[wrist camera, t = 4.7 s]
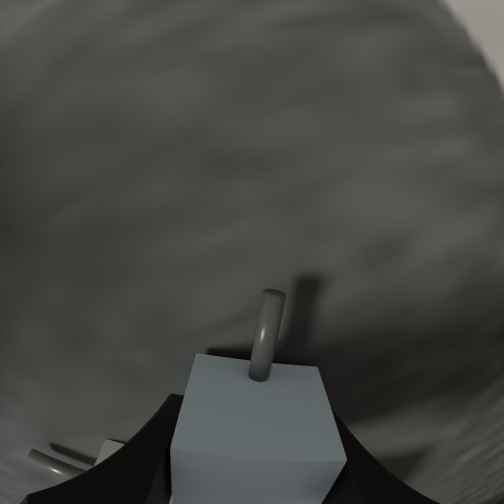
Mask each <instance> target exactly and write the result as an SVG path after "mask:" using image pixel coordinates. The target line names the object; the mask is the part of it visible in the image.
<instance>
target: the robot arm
mask: <svg viewBox="0 0 504 504" xmlns="http://www.w3.org/2000/svg"><path fill="white" fill-rule="evenodd" d="M183 399H184V396H183V395H177V394H171V395H169V396H168V398H167V399H166V400H165V402H164V403H163V405H162V406H161V407H160V408H159V410H158V411H157V412H156V413H155V414H154V416H153V417H152V418H151V419H150V420H149V421H148V422H147V423H146V424H145V425H144V426H143V427H142V429H141V430H140V431H139V432H138V433H136V434H135V435H134V436H133V437H132V438H131V439H130V440H129V441H128V442H127V443H126V444H124V445H123V446H122V447H121V448H120V449H118V450H117V451H116V452H115V453H113V454H112V455H111V456H109V457H108V458H106V459H105V460H103V461H102V462H100V463H99V464H97V465H96V466H94V467H92V468H91V469H89V470H87V471H86V472H84V473H82V474H80V475H78V476H76V477H74V478H72V479H70V480H67V481H65V482H63V483H61V484H58V485H56V486H53V487H50V488H47V489H44V490H41V491H38V492H35V493H31V494H28V495H27V496H26V497H25V499H24V500H23V501H22V502H21V503H20V504H169V502H170V499H171V496H172V482H171V455H170V447H171V443H172V439H173V436H174V432H175V428H176V425H177V421H178V417H179V414H180V410H181V406H182V403H183ZM332 413H333V417H334V420H335V423H336V426H337V429H338V432H339V436H340V439H341V442H342V445H343V448H344V452H345V455H346V458H347V461H346V463H345V465H344V467H343V468H342V470H341V472H340V474H339V475H338V477H337V479H336V480H335V482H334V484H333V486H332V487H331V489H330V490H329V492H328V494H327V495H326V497H325V499H324V500H323V502H322V503H321V504H440V503H438V502H435V501H433V500H431V499H429V498H427V497H426V496H424V495H422V494H420V493H419V492H417V491H415V490H414V489H412V488H411V487H409V486H408V485H406V484H405V483H403V482H402V481H400V480H399V479H398V478H397V477H395V476H394V475H393V474H392V473H390V472H389V471H388V470H387V469H385V468H384V467H383V466H382V465H381V464H380V463H379V462H378V461H377V460H376V459H375V458H374V457H373V456H372V455H371V454H370V453H369V452H368V451H367V450H366V449H365V448H364V447H363V446H362V445H361V444H360V442H359V441H358V440H357V439H356V438H355V437H354V436H353V434H352V433H351V432H350V431H349V430H348V428H347V427H346V426H345V425H344V423H343V422H342V421H341V420H340V419H339V417H338V416H337V415H336V414H335V412H334V411H333V410H332Z"/></svg>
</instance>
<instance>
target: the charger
mask: <svg viewBox="0 0 504 504" xmlns="http://www.w3.org/2000/svg"><path fill="white" fill-rule="evenodd" d="M285 299H286V294H285V293H284V292H282V291H279V290H275V289H265V290H263V292H262V298H261V304H260V310H259V315H258V321H257V327H256V333H255V338H254V344H253V350H252V355H251V361H249V360H241V359H233V358H226V357H219V356H212V355H205V354H199V353H196V356H195V360H194V363H193V367H192V370H191V374H190V378H189V381H188V385H187V388H186V392H185V395H184V399H183V403H182V406H181V410H180V414H179V417H178V421H177V425H176V428H175V432H174V436H173V439H172V443H171V447H170V455H171V482H172V500H173V504H321V503H322V502H323V500H324V499H325V497H326V495H327V494H328V492H329V490H330V489H331V487H332V486H333V484H334V482H335V480H336V479H337V477H338V475H339V474H340V472H341V470H342V468H343V467H344V465H345V463H346V461H347V458H346V455H345V452H344V448H343V445H342V442H341V439H340V436H339V432H338V429H337V426H336V423H335V420H334V417H333V413H332V410H331V407H330V404H329V401H328V398H327V395H326V392H325V388H324V385H323V382H322V379H321V376H320V373H319V370H318V367H312V366H299V365H287V364H276V363H272V362H273V357H274V352H275V348H276V343H277V338H278V333H279V329H280V324H281V319H282V314H283V309H284V304H285Z"/></svg>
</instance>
